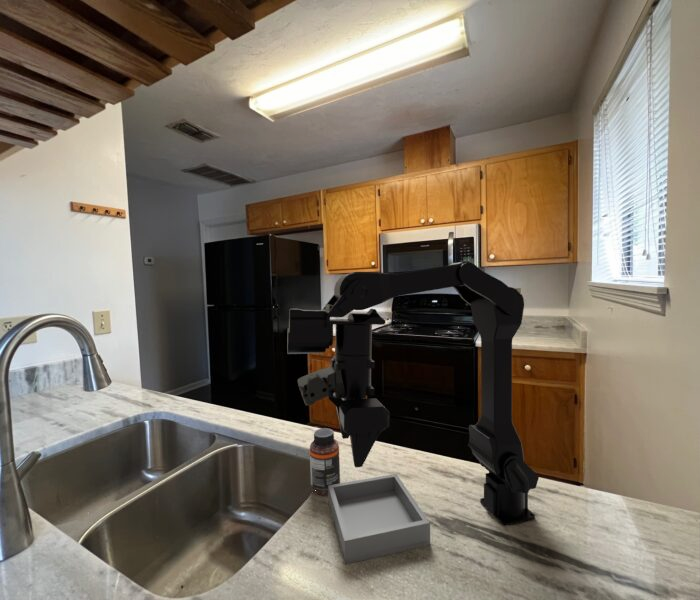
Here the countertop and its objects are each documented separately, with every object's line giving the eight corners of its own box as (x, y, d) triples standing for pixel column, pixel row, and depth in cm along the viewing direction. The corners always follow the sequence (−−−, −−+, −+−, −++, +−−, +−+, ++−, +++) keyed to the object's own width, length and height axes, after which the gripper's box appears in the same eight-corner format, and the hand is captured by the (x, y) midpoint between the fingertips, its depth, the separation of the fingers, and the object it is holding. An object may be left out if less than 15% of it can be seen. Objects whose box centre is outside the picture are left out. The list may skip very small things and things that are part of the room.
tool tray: (396, 491, 62) (396, 473, 62) (430, 544, 49) (430, 522, 49) (328, 503, 59) (328, 485, 59) (344, 564, 46) (344, 540, 46)
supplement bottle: (325, 474, 69) (323, 423, 68) (346, 485, 65) (345, 430, 64) (304, 488, 64) (303, 433, 64) (325, 500, 60) (324, 441, 60)
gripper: (298, 344, 57) (296, 429, 58) (306, 367, 39) (304, 493, 39) (358, 343, 60) (356, 425, 60) (392, 365, 41) (389, 483, 42)
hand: (351, 451), depth 50 cm, fingers open, 9 cm apart
